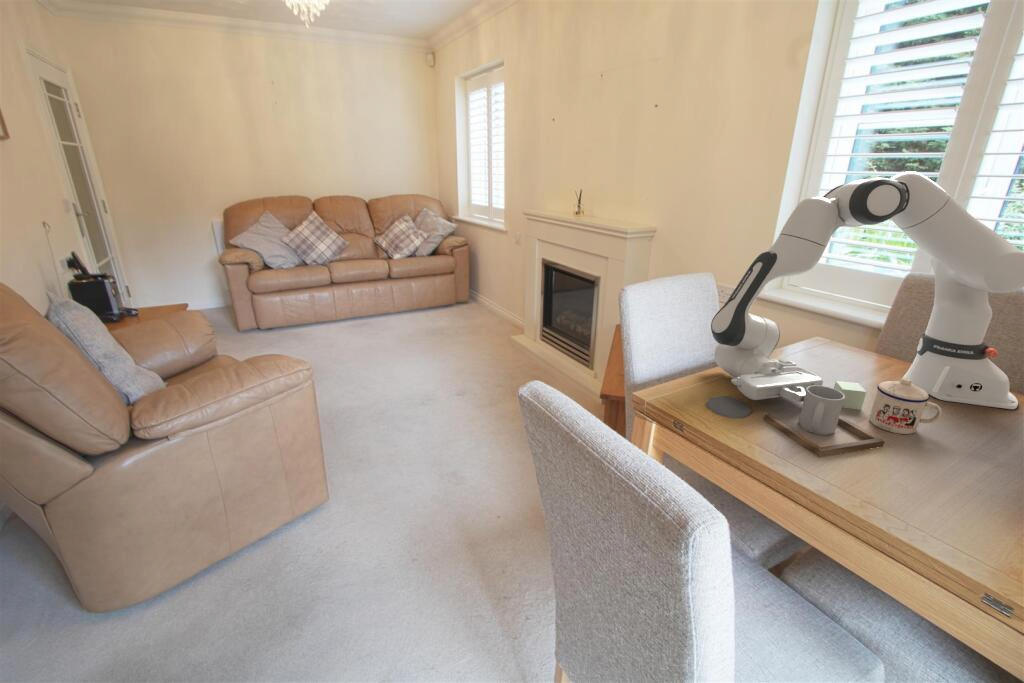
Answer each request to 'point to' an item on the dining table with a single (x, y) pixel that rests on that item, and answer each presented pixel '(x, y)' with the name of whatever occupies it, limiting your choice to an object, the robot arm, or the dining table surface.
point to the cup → (821, 409)
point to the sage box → (851, 394)
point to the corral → (819, 451)
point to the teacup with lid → (901, 407)
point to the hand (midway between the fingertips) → (804, 399)
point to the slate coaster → (728, 407)
